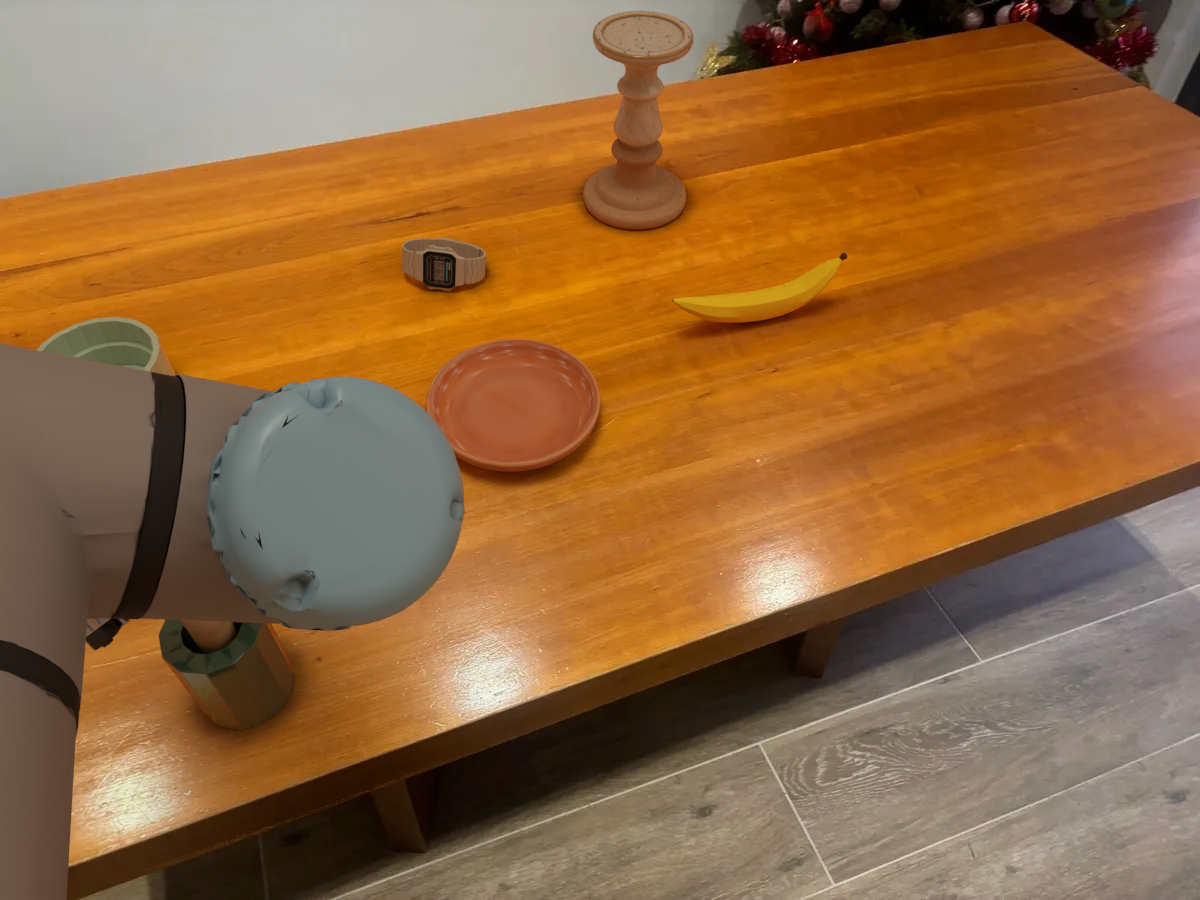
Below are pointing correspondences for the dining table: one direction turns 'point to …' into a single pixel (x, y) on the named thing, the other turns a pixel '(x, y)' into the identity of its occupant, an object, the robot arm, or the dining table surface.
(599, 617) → the dining table surface
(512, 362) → the saucer
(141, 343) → the bowl
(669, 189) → the candle holder
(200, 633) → the stick
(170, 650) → the holder
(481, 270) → the wristwatch
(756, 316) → the banana
